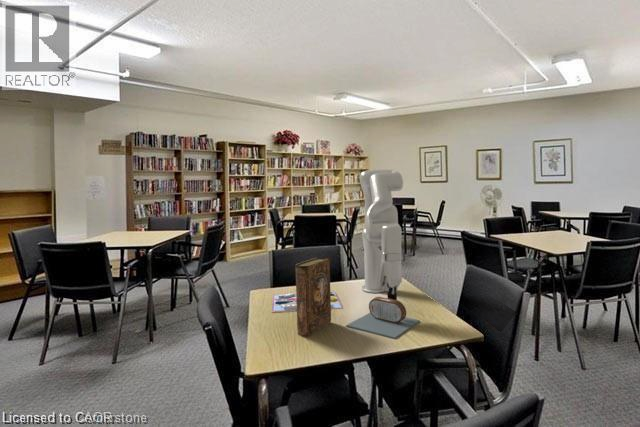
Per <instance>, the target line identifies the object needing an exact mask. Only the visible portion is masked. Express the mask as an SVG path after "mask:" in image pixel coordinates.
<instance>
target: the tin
mask: <svg viewBox="0 0 640 427" xmlns="http://www.w3.org/2000/svg"><path fill="white" fill-rule="evenodd" d="M368 310H369V313H371V314H372V316H373V317H375V318H377V319H380V320H384V321H389V322H393V323H399V322H401V321H402V320H404V319H405V317H406V316H407V309H406V307H405V305H404V304H403V303H402V302H401V301H399V300H398V299H397V300H393V299H388V297H382V296H375V297H374V298H372V299H371V300H370V301H369V304H368Z"/></svg>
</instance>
